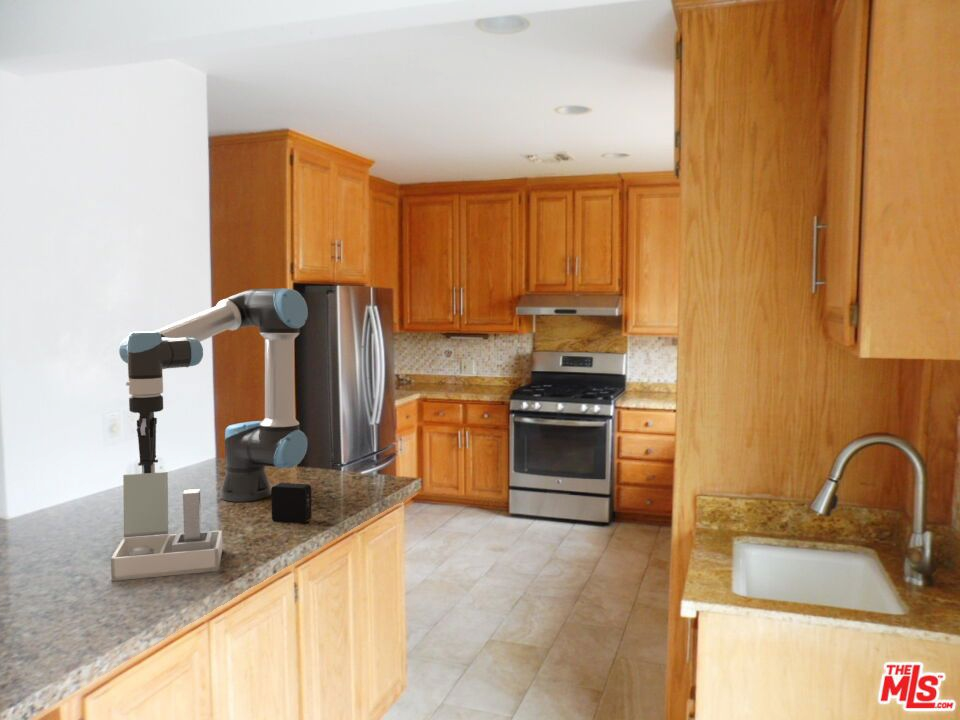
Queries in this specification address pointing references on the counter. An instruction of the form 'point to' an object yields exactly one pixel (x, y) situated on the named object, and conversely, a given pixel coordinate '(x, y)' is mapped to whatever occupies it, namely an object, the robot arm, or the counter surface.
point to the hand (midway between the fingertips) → (149, 490)
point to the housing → (166, 556)
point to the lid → (145, 504)
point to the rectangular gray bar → (192, 515)
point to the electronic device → (291, 503)
